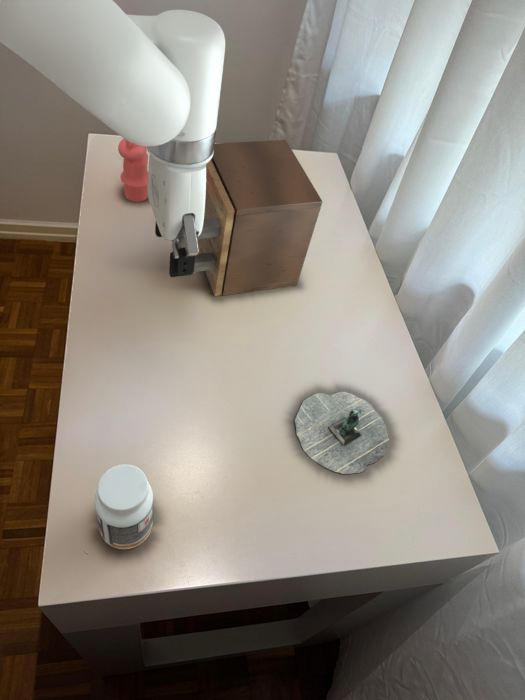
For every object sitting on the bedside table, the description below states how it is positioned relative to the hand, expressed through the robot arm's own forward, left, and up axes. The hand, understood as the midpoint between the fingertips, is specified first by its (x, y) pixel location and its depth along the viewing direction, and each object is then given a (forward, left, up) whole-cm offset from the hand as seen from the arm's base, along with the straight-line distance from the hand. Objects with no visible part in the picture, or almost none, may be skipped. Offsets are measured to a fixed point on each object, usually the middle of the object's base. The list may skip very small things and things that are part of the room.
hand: (174, 253), depth 78 cm
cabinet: (+3, +13, -7) cm, 16 cm away
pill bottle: (+22, -28, -7) cm, 36 cm away
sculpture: (+32, -1, -7) cm, 32 cm away
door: (-2, +5, -7) cm, 9 cm away
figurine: (-19, +10, -7) cm, 23 cm away
